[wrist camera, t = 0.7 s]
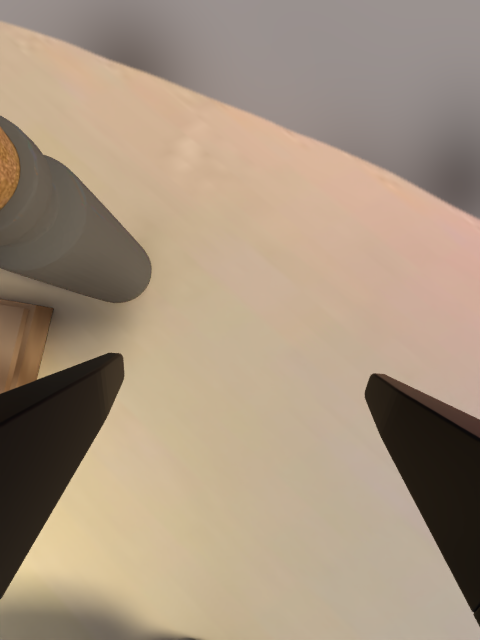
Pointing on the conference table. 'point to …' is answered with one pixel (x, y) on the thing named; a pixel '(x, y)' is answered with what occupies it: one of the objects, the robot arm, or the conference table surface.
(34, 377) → the plinth
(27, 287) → the conference table surface
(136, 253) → the bottle
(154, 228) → the conference table surface
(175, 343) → the conference table surface
